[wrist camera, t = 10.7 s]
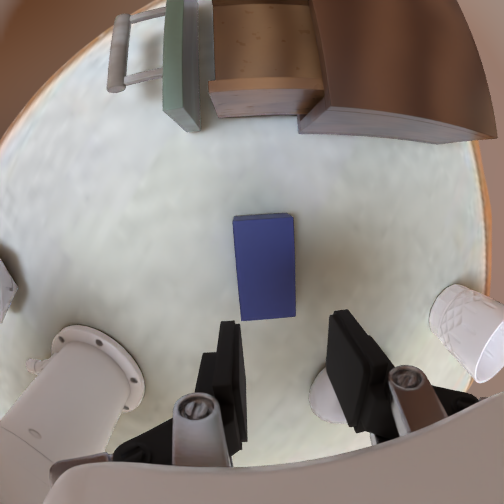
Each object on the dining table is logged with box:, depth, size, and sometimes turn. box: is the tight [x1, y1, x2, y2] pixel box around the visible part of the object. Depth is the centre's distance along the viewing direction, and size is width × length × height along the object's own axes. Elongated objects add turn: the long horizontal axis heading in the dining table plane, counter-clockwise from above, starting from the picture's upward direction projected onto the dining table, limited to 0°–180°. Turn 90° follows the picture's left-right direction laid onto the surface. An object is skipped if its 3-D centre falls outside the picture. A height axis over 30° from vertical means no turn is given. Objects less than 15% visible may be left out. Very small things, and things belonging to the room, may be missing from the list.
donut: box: [309, 367, 347, 423], centre depth 26 cm, size 10×4×10 cm
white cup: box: [429, 284, 504, 383], centre depth 21 cm, size 8×8×10 cm
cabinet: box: [297, 0, 498, 144], centre depth 15 cm, size 15×15×9 cm
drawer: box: [107, 0, 325, 132], centre depth 15 cm, size 18×14×7 cm
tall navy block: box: [233, 213, 296, 321], centre depth 22 cm, size 8×4×3 cm, turn 4°
